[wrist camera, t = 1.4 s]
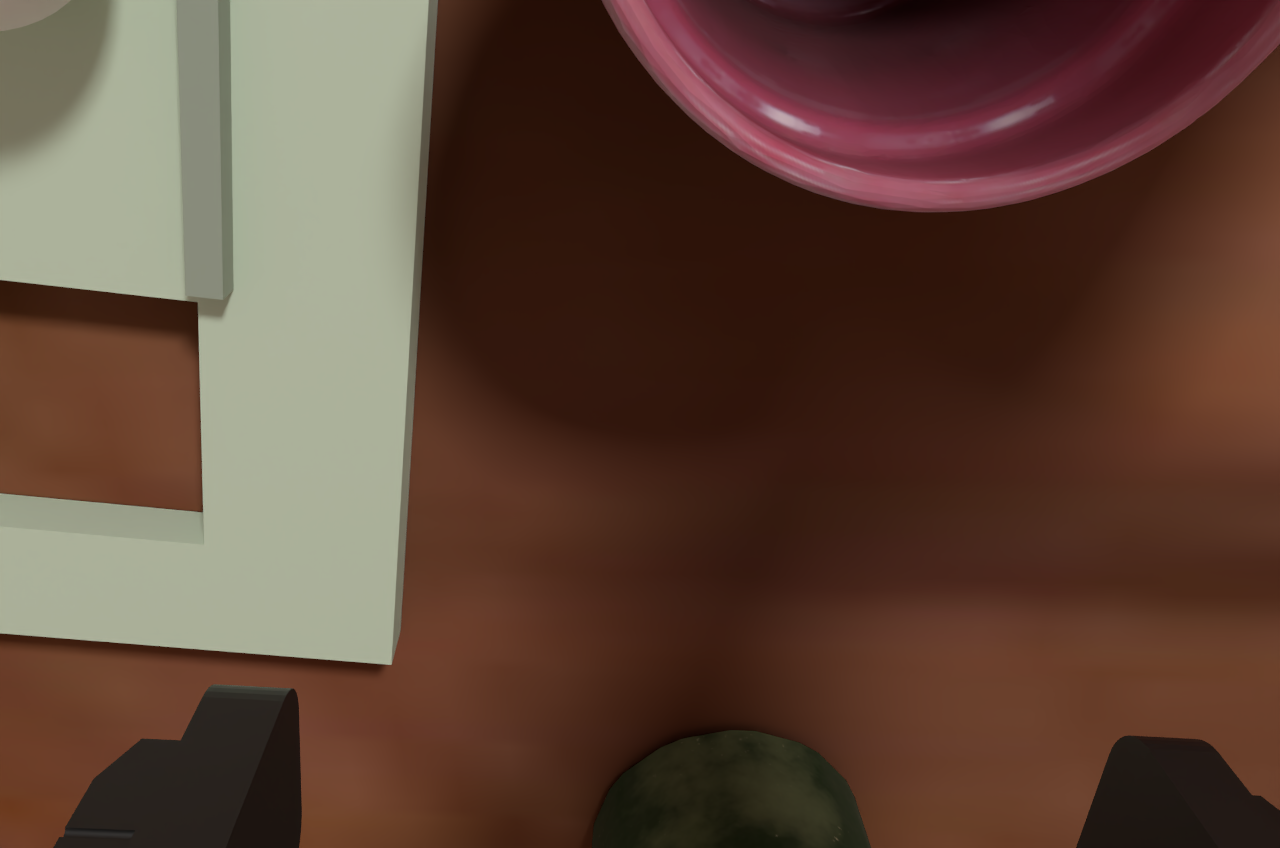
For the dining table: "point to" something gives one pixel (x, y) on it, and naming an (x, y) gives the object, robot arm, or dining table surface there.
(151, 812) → the robot arm
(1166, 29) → the plant pot
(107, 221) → the putting mat
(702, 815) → the dark green tall piece
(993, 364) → the dining table surface
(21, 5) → the ball
